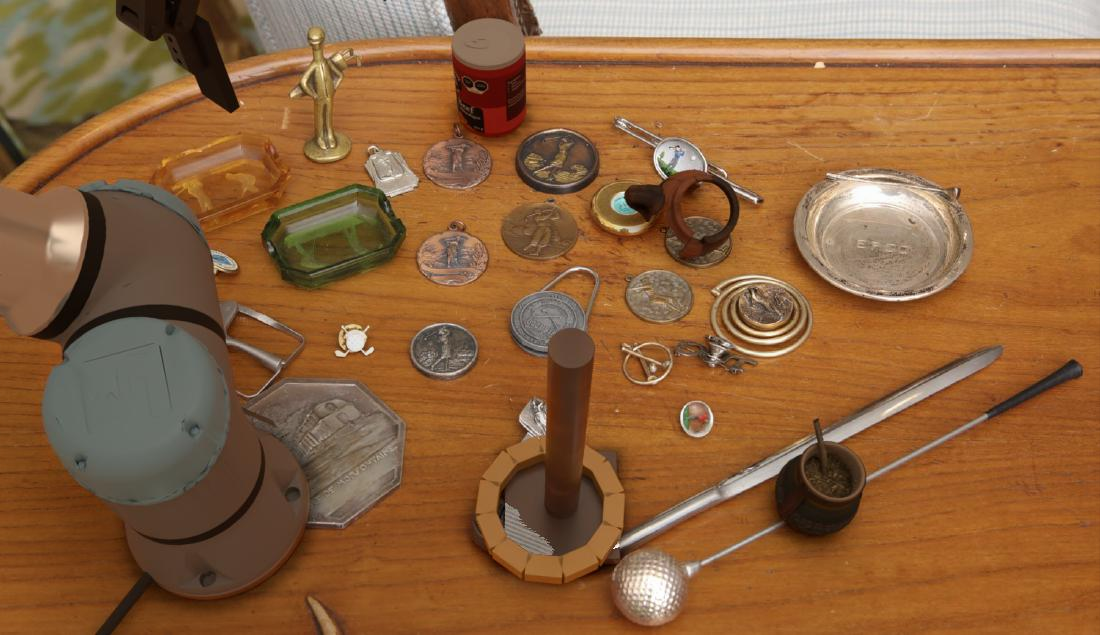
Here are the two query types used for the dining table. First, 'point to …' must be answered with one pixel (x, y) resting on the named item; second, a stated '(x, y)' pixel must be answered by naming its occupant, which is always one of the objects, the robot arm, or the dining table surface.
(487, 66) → the canned food
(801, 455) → the mate gourd
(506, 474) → the ring
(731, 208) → the brown knobbed loop
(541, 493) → the holder
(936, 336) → the dining table surface
